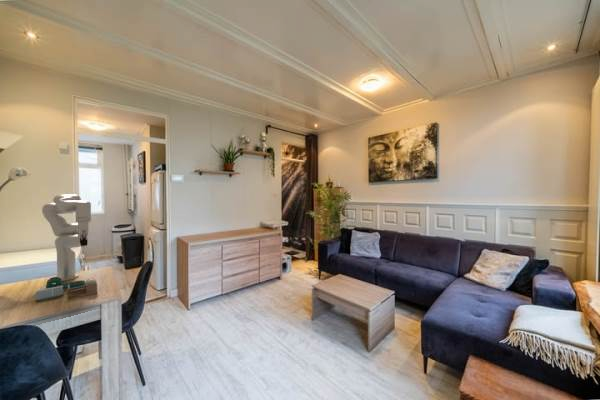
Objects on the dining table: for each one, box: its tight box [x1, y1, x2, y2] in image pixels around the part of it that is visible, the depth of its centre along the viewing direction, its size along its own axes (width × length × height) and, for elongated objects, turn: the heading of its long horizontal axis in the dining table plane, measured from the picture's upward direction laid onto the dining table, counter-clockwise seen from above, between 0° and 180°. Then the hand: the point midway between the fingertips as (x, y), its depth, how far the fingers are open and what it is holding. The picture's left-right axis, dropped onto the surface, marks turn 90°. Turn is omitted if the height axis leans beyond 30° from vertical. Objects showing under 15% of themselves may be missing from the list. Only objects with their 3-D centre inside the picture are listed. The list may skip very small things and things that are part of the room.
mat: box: [37, 296, 59, 303], centre depth 137 cm, size 7×8×1 cm
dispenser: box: [67, 277, 98, 300], centre depth 143 cm, size 8×13×8 cm, turn 137°
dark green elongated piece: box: [45, 276, 86, 291], centre depth 152 cm, size 18×7×8 cm, turn 136°
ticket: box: [35, 286, 64, 301], centre depth 137 cm, size 2×11×5 cm, turn 136°
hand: (83, 244), depth 156 cm, fingers open, 9 cm apart
